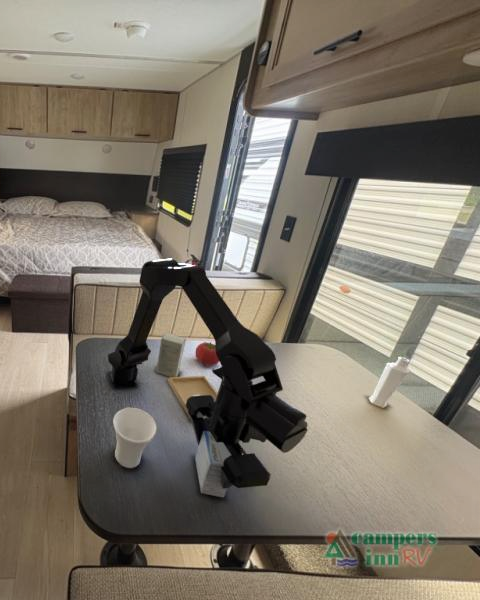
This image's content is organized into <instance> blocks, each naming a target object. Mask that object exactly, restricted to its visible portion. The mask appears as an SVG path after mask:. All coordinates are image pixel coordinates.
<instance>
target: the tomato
mask: <svg viewBox="0 0 480 600" xmlns="http://www.w3.org/2000/svg"><path fill="white" fill-rule="evenodd" d="M195 357H196V359H197V361H198V362H199V363H201V364H202V365H205V366H208V367H210V366H211V367H212V366H214V365H215V366H216V365H217V364H219V363H220V361H219V359H218V357H217V355H216V349H215V343H212V342H211V341H210V342H206V341H204V342H202V343H200V344H198V345H197V346H196V348H195Z"/></svg>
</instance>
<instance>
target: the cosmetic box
mask: <svg viewBox="0 0 480 600" xmlns="http://www.w3.org/2000/svg"><path fill="white" fill-rule="evenodd" d="M186 340H187V339H186V338H185V337H183V336H179V335H176V334H172V333H169V332H165V333H164V335H162V337H161V338H160V345H159V352H158V358H157V363H156V365H157V366H156V369H155V372H156V373H158V374H161V375H163V376H166V377H168V378H169V377H178V375H179V374H180V371H181V366H182V360H183V356H184V350H185V344H186V342H187V341H186Z"/></svg>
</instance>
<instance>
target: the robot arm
mask: <svg viewBox="0 0 480 600" xmlns="http://www.w3.org/2000/svg"><path fill="white" fill-rule="evenodd" d="M138 281H139V286H140V288H141V290H142V292H141V295H140V299H139V301H138V304H137V307H136V310H135V312H134V315H133V318H132V322H131V324H130V326H129V330H128V333H127V334H126V335H125V336H124V337H123V338H122V339H121V340H120V341H119V342H118V344H117V346H116V347H115V349H114V351H113V352H110V353H108V354H107V361H108V363H109V364H110V365H111V366H112V368H111V371H110V372H109V376H110V379H111V382H112V385H113V387H114V388H115V389H119V388H120V389H121V388H136V387H137V383H136V381H137V379H138V373H139V368H138V366H139V365H142V364H143V363H144V362H146V361H149V356H150V354H151V351H152V350H151V348H149V345H148V342H147V340H148V338H149V335H150V332H151V330H152V327H153V325H154V323H155V320H156V318H157V315H158V313H159V310H160V308H161V305H162V303H163V300H164V299H165V298H166V297H167V296H168V295H169V294H171V292H173V291H174V290H175V288H176V287H180V288H181V289H182V291H183V292H184V293H185V295H186V296H187V299H188V300H189V301H190V303H191V304H192V306H193V307H194V309H195V311H196V312H197V314H198V315H199V316H200V318H201V320H202V321H203V323H204V325H205V326H206V327H207V329H208V330H209V332H210V334H211V336H212V337H213V340H214V345H215V349H216V355H217V357H218V359H219V364H220V366H219V367H215V368H213V369H211V372H212V373H213V374H214V375H215V376H217V377H218V378H219V379H220V380H221V381H220V385H219V387H218V391H217V393H218V394H217V397H216V400H215V398H214V397H213V396H212V395H201V396H191V397H189V398H188V399H187V402H186V408H187V409H188V414H189V416H190V418H189V420H190V419H191V420H190V422H191V425H192V428H193V431H194V435H195V439H196V442H197V445H198V446H199V443H200V440H201V436H202V433H203V431H208V432H210V433H211V434H212V436H213V437H214V439H215V441H216V442H217V443H218V442H222V443H224V445H225V447H226V448H227V450H228V451H229V453H230V456H229V457H227V458H226V459H224V462H223V466H221V484H222V488H223V489H226V488H227V489H229V488H231V487H232V486H234V487H236V488H238V489H243V488H255V487H264V486H265V487H266V486H268V483H269V481H270V479H271V477H272V474H271V472H270V471H269V470H268V468H267V467H266V466H265V464H264V463H263V462H262V460H261V459H260V458H259V456H258V455H257V454H255V453H254V452H252V453H251V452H250V453H247V452H246V451H245V449H244V448H243V447H242V445H241V444H240V442H241V443H242V444H246V443H247V444H248V443H250V441H251V440H255V441H259V442H261V443H265V442H266V441H268V442H269V443H271V444H272V445H273V446H274V447H276V449H278V450H279V451H280V452H281V453H284V454H286V453H288V452H290V451H292V450H293V449H294V448H296V447H297V446H298V445H299V444H300V443H301V441H302V440H303V439H304V437H305V436H306V434H307V432H308V422H307V421H306V420H307V417H308V416H307V414H306V413H304V412H303V411H301V410H300V409H298V408H297V407H294V406H292V405H290V404H289V403H288V402H287V401H285V400H283V399H282V398H281V397H279V396H277V393H279V392H282V391H283V390H284V388H283V385H282V381H281V378H280V375H279V372H278V369H277V366H276V365H277V364H276V361H277V358H276V354H275V353H274V351H273V349H272V348H271V347H270V345H268V344H267V343H266V342H265V341H264V340H263V339H262V338H261V336H259V335H258V334H257V333H255V332H254V331H252V330H250V329H248V328H247V327H245V326H244V325H243V324H242V323H241V322H240V321H239V319H238V318H237V317H236V315H235V314H234V313H233V311H232V310H231V308H230V307H229V306H228V304H227V303H226V301H225V300H224V299H223V297H222V296H221V294H220V293H219V292H218V290H217V289H216V287H215V286H214V285H213V283H212V282H211V280H210V278H209V277H208V276H207V271H206V270H205V268H204V267H203V266H200V265H198V264H197V265H192V264H188V263H178V262H177V260H175V258H166V259H158V260H157V259H155V260H149V261H147V262H144V263H143V265H142V267H141V271H140V276H139V280H138ZM261 377H263V379H264V380H262V381H260V382H258V383H255V384H254V382H253V381H254V380H256V379H259V378H261Z"/></svg>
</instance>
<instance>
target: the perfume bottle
mask: <svg viewBox="0 0 480 600" xmlns="http://www.w3.org/2000/svg"><path fill="white" fill-rule="evenodd" d="M409 362H410V359H408V358H407V357H404V356H398V358H397V360H396V362H387V363H386V364H385V367H384V369H383V371H382V373H381V376H380V379H378V382H377V385H376V387H375V389H374V392H373V393H372V395H371V396H369V397H368V400H369V402H370V403H371V404H372V405H374V406H378V407H380V408H382V409H384V408H386V407H387V406H388V401H389V400H390V399H391V397H392V396H393V395H394V393H395V392H397V389H398V388H399V387H400V385H402V383H403V382H404V380H405V379H406V377H408V376H409V374H410V372H411V371H412V370H411V369H410V368H408V367H407V365H408V363H409Z"/></svg>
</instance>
